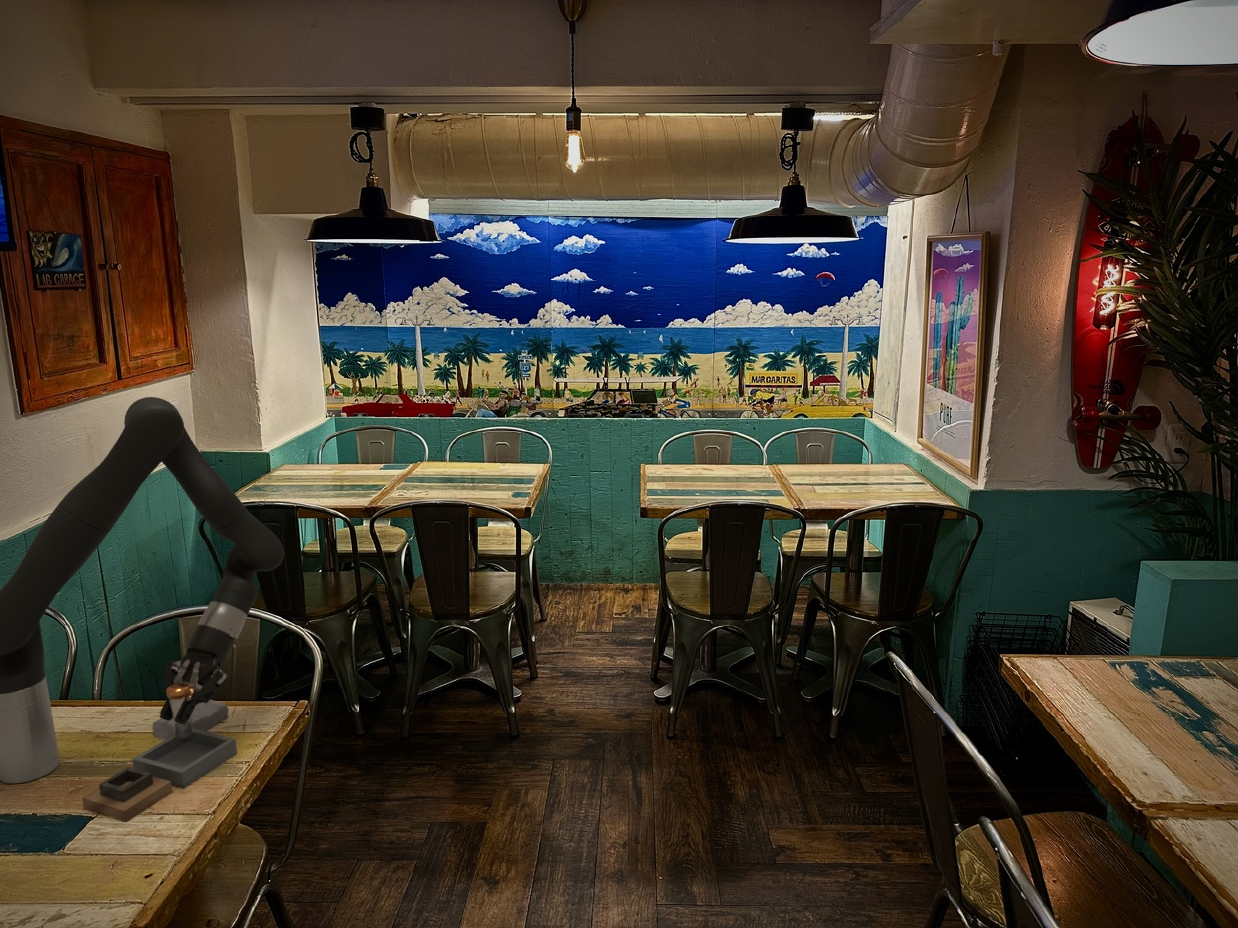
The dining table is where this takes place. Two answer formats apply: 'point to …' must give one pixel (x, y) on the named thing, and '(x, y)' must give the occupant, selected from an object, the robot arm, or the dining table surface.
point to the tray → (186, 757)
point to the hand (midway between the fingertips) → (172, 720)
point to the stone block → (194, 719)
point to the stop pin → (177, 697)
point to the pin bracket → (127, 794)
